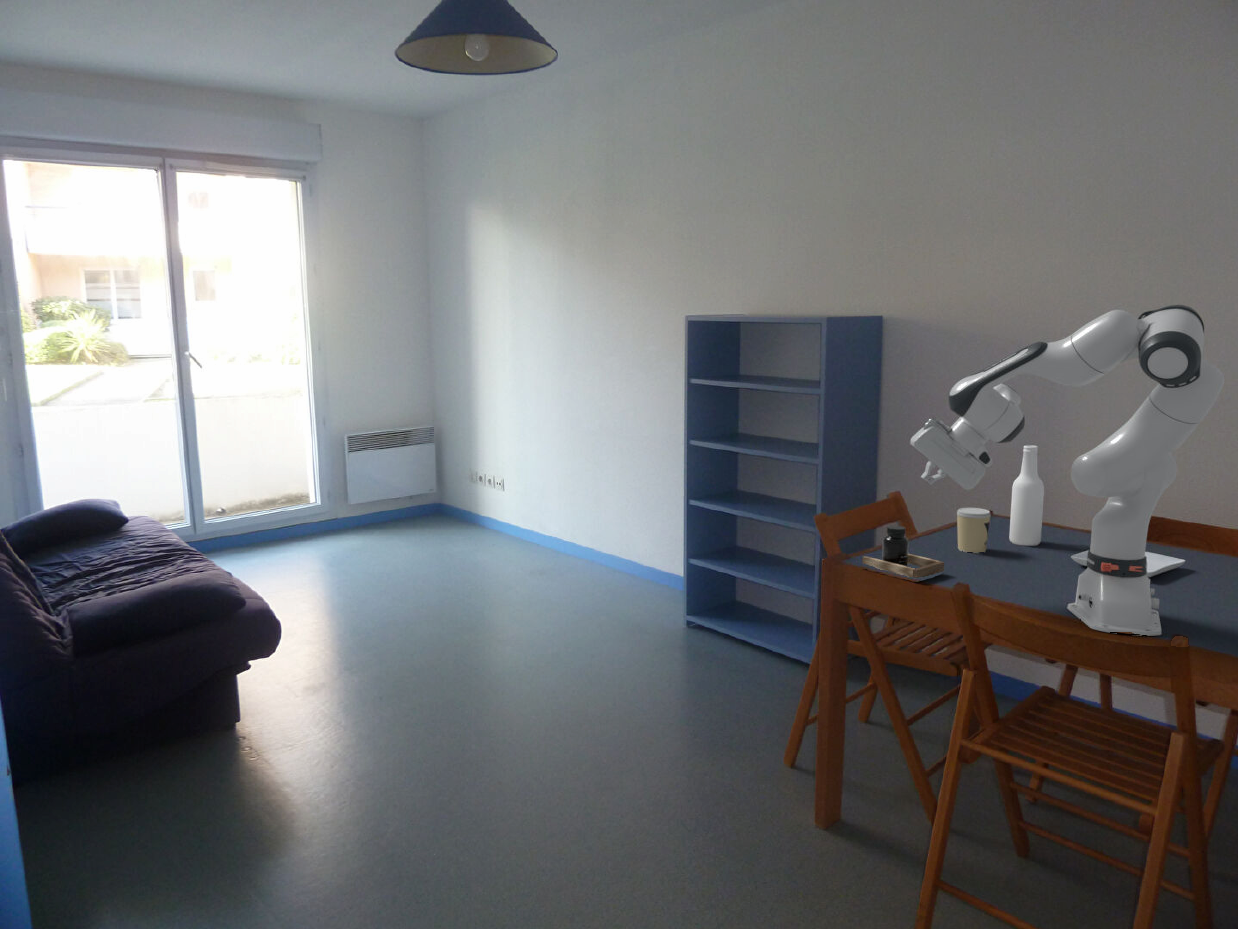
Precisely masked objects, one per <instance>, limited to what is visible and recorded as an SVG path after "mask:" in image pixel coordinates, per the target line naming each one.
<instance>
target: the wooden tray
mask: <svg viewBox="0 0 1238 929" xmlns="http://www.w3.org/2000/svg"><path fill="white" fill-rule="evenodd" d="M862 564H866V565H869V566H873V567H875V568H877V569H880V570H885V571H889V572H892V573H896V574H900V575H905V576H907V577H915V578H919V577H925V576H929V575H933V574H935V573H939V572H942V571H944V572H945V561H941V560H937V559H933V558H928V557H924V556H920V555H917V554H916V555H915V554H911V553H908V564H913V565H917V566H920V567H919V568H916V569H915V568H911V567H907V566H903V565H899V564H895V563H891V562H887V561H883V560H882V559H879V558H875V557H870V556H866V555H865V556H862Z"/></svg>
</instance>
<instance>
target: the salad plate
mask: <svg viewBox="0 0 1238 929" xmlns="http://www.w3.org/2000/svg"><path fill="white" fill-rule="evenodd" d="M1089 550H1090V549H1089ZM1089 550H1088V549H1087V550H1086V551H1082V552H1079V553H1076V554H1073V555H1071V556H1070V557H1071V559H1072V560H1073V561H1075V563H1078V564H1079V565H1082V566H1085V567H1088V566H1087V555H1088V551H1089ZM1145 556H1146V557H1147V574H1146V576H1147V577H1148V578H1149V579H1150V578H1151V577H1154V576H1158V575H1160V574H1162V573H1166V572H1168V571H1171V570H1174V569H1178V568H1179V567H1181V566H1183V564H1185V562H1186V560H1185V559H1182V558H1177V557H1173V556H1167V555H1164V554H1159V553H1156V552H1155V553H1154V552H1150V551H1145Z"/></svg>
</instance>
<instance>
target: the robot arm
mask: <svg viewBox="0 0 1238 929" xmlns="http://www.w3.org/2000/svg"><path fill="white" fill-rule="evenodd" d="M1204 333H1205V325H1204V321H1203V319H1202V317H1201V315H1200V314H1199V312H1197V311H1196V310H1195V309H1193V308H1192V307H1190V306H1187V305H1183V304H1172V305H1167V306H1164V307H1161V308H1157V309H1153V310H1149V311H1144V312H1143V313H1141V314H1140V315H1139V316H1138V317H1136V316H1135V315H1134V314H1132V313H1130V312H1129V311H1126V310H1122V309H1112V310H1110V311H1108V312H1106V313H1103V314H1102V315H1100V316H1098V317H1096V318H1094V319H1093V320H1091V321H1089V322H1088V323H1086V324H1084V325H1083V326H1081V327H1080V328H1079V329H1077V330H1076V331H1075V332H1073V333H1071V334H1070V335H1068V336H1067V337H1065V338H1063V339H1059V340H1056V341H1051V342H1044V341H1037V342H1034V343H1032V344H1030V345H1027V346H1025V347H1022V348H1021V349H1019V350H1017V351H1015V352H1013V353H1011V354H1009V355H1008V356H1005V357H1004V358H1002V359H1000V360H998V361H996V362H994V363H993V364H991V365H990V366H988V367H985V368H983V369H981V370H979V371H977V372H974V373H972V374H969V375H967V376H965V377H963V378H961V380H959V381H957V382H956V383H955V384H954V385H953V386H952V387H951V389H950V390H949V392H948V395H947V396H948V397H947V398H948V405H949V409H950V411H952V412H954V414H956V415H957V416H959V418H957V420H956V421H955V422H954V423H953V424H952V425H951V426H948V424H946V423H944V421H943V420H941V419H940V418H936V417H933V418H929V419H928V420H927V421H926V423H925V424H924V426H923V427H922V428H920V429H919V430H918V431H917V432H916V433H915V434H914V435H913V436H912V437H911V438H910V442H909V444H910V445H911V446H912V447H914V448H915V450H917V451H919V453H921V454H922V455H923V456H925V457H926V458H927V459H928V461H927V463H926V464H925V469H924V472H923V473H922V474H921V475H920V478H922V479H923V480H924V481H925V482H926V483H928V484H929V485H930V486H932V485H934V483H935V482H936V481H939V480H942V479H943V478H945V477H947V475H948V477H950V478H951V479H952V480H953V481H954V482H955V483H956V484H958V485H960V487H962V488H963V489H964V490H966V491H969V490H973V489H974V488H975V487H976V486H977V484H978V483H980V481H981V480H982V478H983V477H984V476H985V474H986V472H987V468H990V467H991V466H992V465H993V463H994V462H993V461H994V460H993V459H992V456H991V455H990V454H989V452H988V450H987V448H986V446H985V444H986V443H987V442H988V441H989V440H991V441H993V442H994V443H996V444H1004V443H1010V442H1011V441H1013V440H1014V439H1015V438H1017V436H1019V434H1021V432H1022V431H1023V430H1024V428H1025V423H1026V420H1025V419H1026V418H1025V414H1024V413H1023V412H1022V410H1021V408H1020V405H1021V402H1022V399H1021V395H1019V393H1018V392H1017V391H1016V390H1015V389H1013V388H1012V387H1011V386H1009V385H1007V384H1005V383H1006V382H1007V381H1009V380H1011V379H1013V378H1015V377H1017V376H1020V375H1033V376H1037V377H1040V378H1044V379H1046V380H1049V381H1052V382H1054V383H1057V384H1060V385H1062V386H1066V387H1067V386H1068V387H1084V386H1086V385H1089V384H1091V383H1094V382H1096V381H1097V380H1098V379H1101V378H1102V377H1103V376H1105V375H1106V374H1107V373H1109V372H1111V371H1112V370H1113V369H1115V368H1116V367H1117V366H1118V365H1119V364H1122V363H1124V362H1127V361H1130V360H1133V359H1138V363H1139V366H1140V368H1141V370H1142V371H1143V373H1145V375H1147V377H1148V378H1150V379H1151V380H1153V381H1154V382H1157V385H1156V386H1155V387H1154V388H1153V389H1152V391H1151V392H1150V393H1149V395H1148V396H1147V397H1146V399H1145V400H1144V401H1143V402H1142V404H1141V405H1140V406H1139V407H1138V408H1137V410H1136V411H1135V412H1134V413H1133V415H1132V416H1131V417H1130V418H1129V420H1128V421H1126V422H1125V423H1124V424H1123V425H1122V426H1121V427H1120V428H1119V429H1117V430H1116V431H1115V432H1113V434H1110V436H1109V437H1107V438H1106V439H1105V440H1104V441H1102V442H1101V443H1100V444H1098V445H1097V446H1096V447H1094V448H1092V449H1090V450H1089V451H1087V452H1086V453H1083V454H1081V455H1079V456H1078V457H1077V458H1075V460H1074V461H1073V463H1072V465H1071V468H1070V477H1071V481H1072V484H1073V486H1074V488H1075V489H1076V490H1077V491H1078V492H1079V493H1081V494H1082V495H1085V496H1089V497H1096V498H1100V499H1102V498H1103V499H1107V501H1106V503H1105V504H1104V506H1103V507H1102V509H1101V510H1099V511H1098V512H1097V513H1096V514H1095V515H1094V517H1093V519H1092V522H1091V531H1090V532H1091V535H1090V546H1089V551H1088V550H1087V551H1088V555H1087V566H1088V567H1087V566H1086V567H1087V568H1085V570H1084V571H1083V572H1081V573H1080V574H1079V575H1078V579H1077V585H1076V586H1077V587H1076V594H1075V601H1074V602H1070V603H1068V604H1067V607H1066V608H1067V610H1068V611H1070V612H1071V613H1072V614H1073V615H1074V616H1075V617H1077V618H1078V620H1080V619H1081V622H1083V623H1084V624H1085V625H1086V626H1088V627H1089V628H1090V629H1092V630H1095V631H1100V632H1104V633H1110V632H1132V633H1134V634H1140V635H1139V636H1142V635H1147V637H1148V636H1161V635H1162V626H1161V621H1160V620H1161V619H1160V614H1159V611H1158V610H1159V609H1160V598H1156V597H1152V596H1155V590H1156V589H1155V588H1151V578H1150V577H1149V578H1148V577H1147V576H1146V574H1147V557H1146V556H1145V552H1146V547H1147V538H1148V531H1149V525H1150V521H1151V518H1152V516H1153V512H1154V510H1155V508H1156V506H1157V504H1158V502H1159V500H1160V498H1161V496H1162V495H1163V493H1164V492H1165V491H1166V490H1167V489H1168V487H1170V486H1171V485H1172V484H1173V483H1174V482H1175V480H1176V478H1177V475H1178V465H1177V462H1176V459H1175V457H1174V456H1173V454H1172V453H1173V452H1175V451H1176V450H1178V449H1179V448H1180V447H1181V446H1182V445H1183V443H1184V442H1185V441H1186V440H1187V439H1188V437H1190V435H1191V434H1192V433H1193V432H1194V430H1195V429H1196V428H1197V427H1198V426H1199V424H1200V423H1201V422H1202V421H1203V419H1205V417H1206V416H1207V414H1208V413H1209V411H1210V410H1211V409H1212V407H1213V405H1214V404H1215V402H1216V401H1217V399H1218V397H1219V396H1220V393H1221V392H1222V390H1223V387H1224V385H1225V376H1224V374H1223V373H1222V371H1221V370H1220V369H1219V368H1218V367H1217V366H1216V365H1215V364H1213V363H1211V362H1209V361H1207V360H1205V359H1204V358H1203V357H1202V356H1203V350H1204V345H1205V337H1204V336H1205V335H1204ZM936 467H937V468H939V469H938V470H937V474H934V475H931V472H932V469H935V468H936ZM1156 609H1157V610H1156Z"/></svg>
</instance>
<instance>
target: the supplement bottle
mask: <svg viewBox="0 0 1238 929" xmlns="http://www.w3.org/2000/svg"><path fill="white" fill-rule="evenodd" d="M906 534H907V533H906V527H905V526H900V525H889V526H887V527H886V535H885V536H884V537H883V538H882V547H881V548H882V550H881V551H882V552H881V554H882V555H881V560H883V561H887V562H891V563H895V564H899V565H903V566H907V564H908V554H909V545H910V544H909V543H910V542H909V539H908V538H907V537H906Z"/></svg>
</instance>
